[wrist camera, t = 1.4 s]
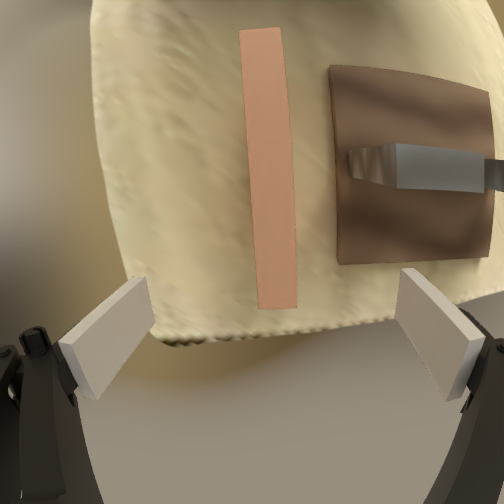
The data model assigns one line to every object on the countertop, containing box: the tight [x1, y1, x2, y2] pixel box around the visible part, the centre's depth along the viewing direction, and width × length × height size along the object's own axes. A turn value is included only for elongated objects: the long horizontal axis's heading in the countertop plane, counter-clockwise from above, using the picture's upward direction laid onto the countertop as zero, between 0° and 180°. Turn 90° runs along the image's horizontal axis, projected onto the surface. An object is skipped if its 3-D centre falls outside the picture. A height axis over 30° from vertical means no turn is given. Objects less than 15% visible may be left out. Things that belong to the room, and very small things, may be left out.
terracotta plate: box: [239, 27, 297, 309], centre depth 22 cm, size 18×2×12 cm, turn 4°
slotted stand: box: [328, 65, 504, 265], centre depth 19 cm, size 20×20×14 cm
